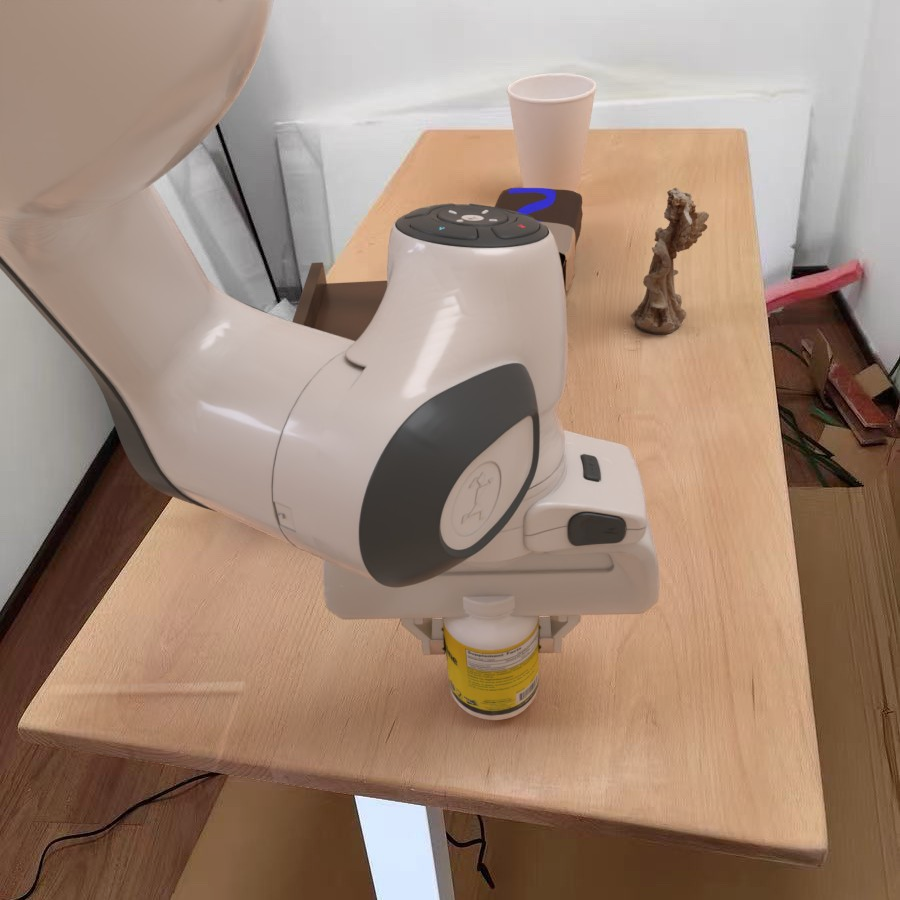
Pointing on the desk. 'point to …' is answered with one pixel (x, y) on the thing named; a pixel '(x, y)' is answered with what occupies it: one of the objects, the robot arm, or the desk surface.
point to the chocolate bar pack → (551, 218)
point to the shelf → (338, 304)
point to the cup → (551, 127)
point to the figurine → (669, 265)
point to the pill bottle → (492, 657)
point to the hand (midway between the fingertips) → (492, 646)
